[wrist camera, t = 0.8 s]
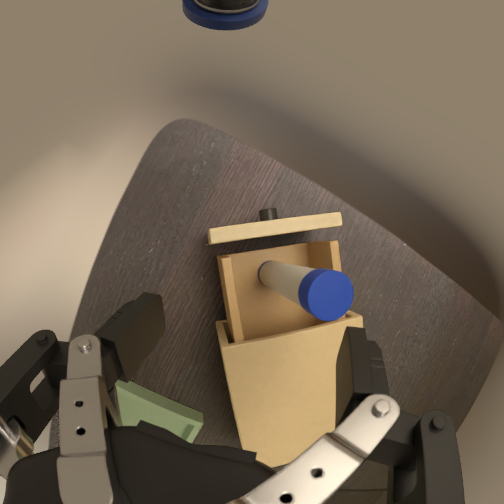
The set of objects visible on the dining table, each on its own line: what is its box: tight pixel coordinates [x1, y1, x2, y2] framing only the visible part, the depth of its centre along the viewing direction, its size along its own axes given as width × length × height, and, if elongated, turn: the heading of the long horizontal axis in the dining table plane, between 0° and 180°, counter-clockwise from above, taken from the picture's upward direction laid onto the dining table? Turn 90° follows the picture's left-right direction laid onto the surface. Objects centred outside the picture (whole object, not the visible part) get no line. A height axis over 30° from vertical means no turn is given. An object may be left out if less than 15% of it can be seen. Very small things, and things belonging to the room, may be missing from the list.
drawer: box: [207, 208, 346, 343], centre depth 27 cm, size 15×11×7 cm
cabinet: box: [215, 310, 363, 467], centre depth 27 cm, size 14×12×8 cm
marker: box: [258, 260, 353, 321], centre depth 22 cm, size 3×3×14 cm
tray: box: [115, 380, 203, 444], centre depth 27 cm, size 20×13×2 cm, turn 152°
